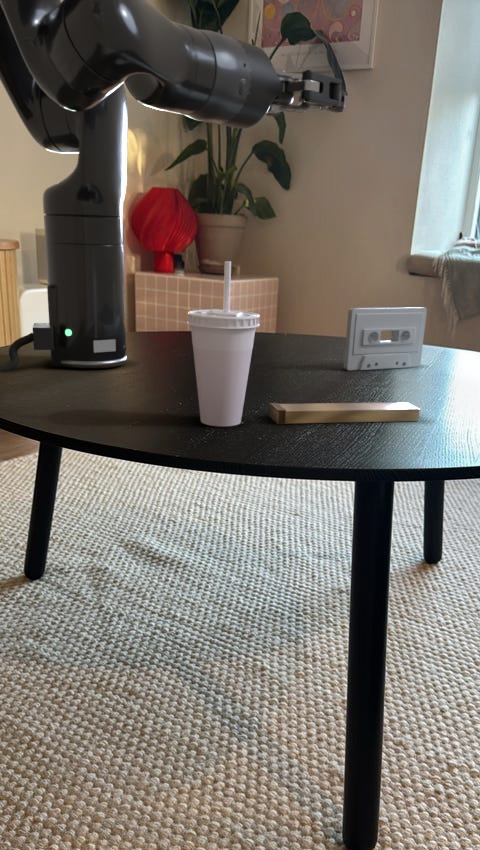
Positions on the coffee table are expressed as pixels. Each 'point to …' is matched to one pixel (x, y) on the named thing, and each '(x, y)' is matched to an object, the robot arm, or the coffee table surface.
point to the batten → (343, 412)
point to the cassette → (384, 354)
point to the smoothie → (222, 358)
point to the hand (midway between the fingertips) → (308, 104)
